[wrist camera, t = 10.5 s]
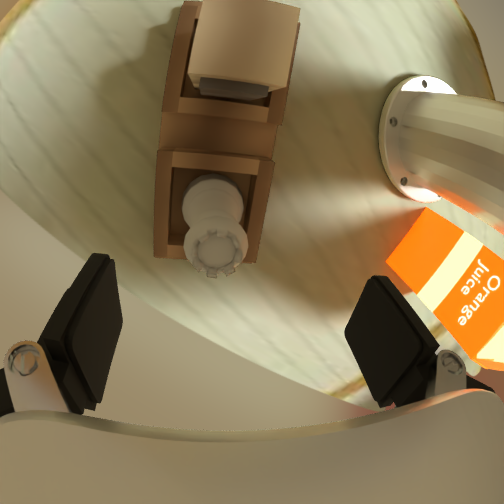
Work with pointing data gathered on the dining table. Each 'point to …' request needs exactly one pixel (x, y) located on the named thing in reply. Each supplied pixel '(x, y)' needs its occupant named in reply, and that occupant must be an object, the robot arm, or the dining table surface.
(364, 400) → the dining table surface
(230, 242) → the rook chess piece
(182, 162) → the wooden compartment tray
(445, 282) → the orange juice
